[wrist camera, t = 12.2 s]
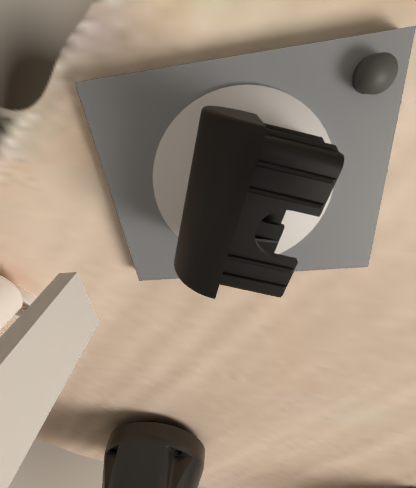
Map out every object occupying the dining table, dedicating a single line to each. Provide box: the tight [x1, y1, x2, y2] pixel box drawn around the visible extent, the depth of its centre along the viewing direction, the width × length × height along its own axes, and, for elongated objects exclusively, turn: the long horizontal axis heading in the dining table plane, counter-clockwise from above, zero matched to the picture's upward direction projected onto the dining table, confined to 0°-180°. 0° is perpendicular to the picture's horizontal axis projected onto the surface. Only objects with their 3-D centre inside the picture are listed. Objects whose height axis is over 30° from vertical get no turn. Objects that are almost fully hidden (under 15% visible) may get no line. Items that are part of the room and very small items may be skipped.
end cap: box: [174, 106, 344, 299], centre depth 17 cm, size 10×7×7 cm
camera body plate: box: [75, 26, 416, 281], centre depth 20 cm, size 20×16×2 cm
